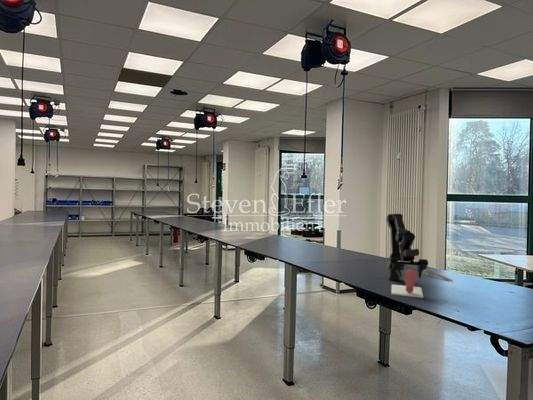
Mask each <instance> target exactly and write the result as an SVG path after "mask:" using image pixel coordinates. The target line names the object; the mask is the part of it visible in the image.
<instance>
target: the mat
mask: <svg viewBox="0 0 533 400" xmlns="http://www.w3.org/2000/svg"><path fill="white" fill-rule="evenodd" d="M390 294H391V295H393V296H401V297H402V296H403V297H409V298H410V297H411V298H421V299H424V293H423V289H422V287H419V286H414V287H413V292H411V293H409V292H407V291H406V285H401V284H391V293H390Z"/></svg>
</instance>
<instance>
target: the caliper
mask: <svg viewBox="0 0 533 400" xmlns="http://www.w3.org/2000/svg"><path fill="white" fill-rule="evenodd" d="M422 274H423V276H425V277H426V276H427V275H429V274H430V275H432V276H437V277H438V278H441V279H443V280H444V281H447V280H448V281H447V282H450V281H452V283H454V282H453V281H454V280H453V279H452V278H449V277H447V276H445V275H443V274H441V273H438V272H437V271H435V270H433V269H431V268H429V266H427V268H426V269H425V270H423V273H422Z"/></svg>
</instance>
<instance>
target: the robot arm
mask: <svg viewBox="0 0 533 400" xmlns="http://www.w3.org/2000/svg"><path fill="white" fill-rule="evenodd" d="M386 222H387V226H388V227H389V229H390V242H391V244H390V245H391V248H390V249H391V253H390V255H389V256H388V260H387V262H386V269H387V270H389V276H388V280H389V281H394V282H395V281H396V282H397V281H398V282H400V281H401V278H403V275H402V272H401V271H405V270H404V267H405V266H409V267H410V266H411V267H412V266H413V267H417V274H418V279H421V277H422V274H423V273H422V272H424V270H425V269H426V268H427V267H428V265H429V261H428V259H425V258H424V259H423V258H419V259H418V261H415V260H416V256H419V255H420V250H419V248H414V249H412V246H413V245H414V242H415V240H416V239H415V238H416V235H415V234H414V233H413V232H411V230H408V229H406V227H405V223H404V220H403V214H401V213H388V215H386Z"/></svg>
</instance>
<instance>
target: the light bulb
mask: <svg viewBox="0 0 533 400" xmlns="http://www.w3.org/2000/svg"><path fill="white" fill-rule="evenodd" d="M403 271H404V272H403V273H402V274H403V275H402V278H403V280H404V283H405V286H406V291H407V292H409V293H411V292H413V287H415V285H416V283H417V280H418V279H419V276H418V271H416V270H415V269H412V268H409V269H406V270H403Z"/></svg>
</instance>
